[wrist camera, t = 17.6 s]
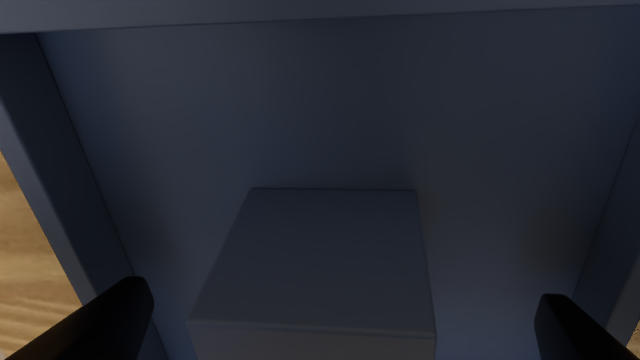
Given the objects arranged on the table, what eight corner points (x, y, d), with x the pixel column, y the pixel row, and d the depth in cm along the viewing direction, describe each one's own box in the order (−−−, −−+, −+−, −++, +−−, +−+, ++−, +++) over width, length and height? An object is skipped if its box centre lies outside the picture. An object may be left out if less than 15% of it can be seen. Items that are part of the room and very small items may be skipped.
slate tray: (170, 370, 16) (144, 425, 14) (8, -16, 9) (-81, 0, 7) (544, 398, 14) (568, 464, 12) (720, -61, 7) (831, -54, 5)
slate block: (269, 302, 12) (228, 448, 9) (248, 187, 10) (182, 321, 7) (409, 309, 12) (422, 468, 8) (417, 189, 9) (439, 336, 6)
